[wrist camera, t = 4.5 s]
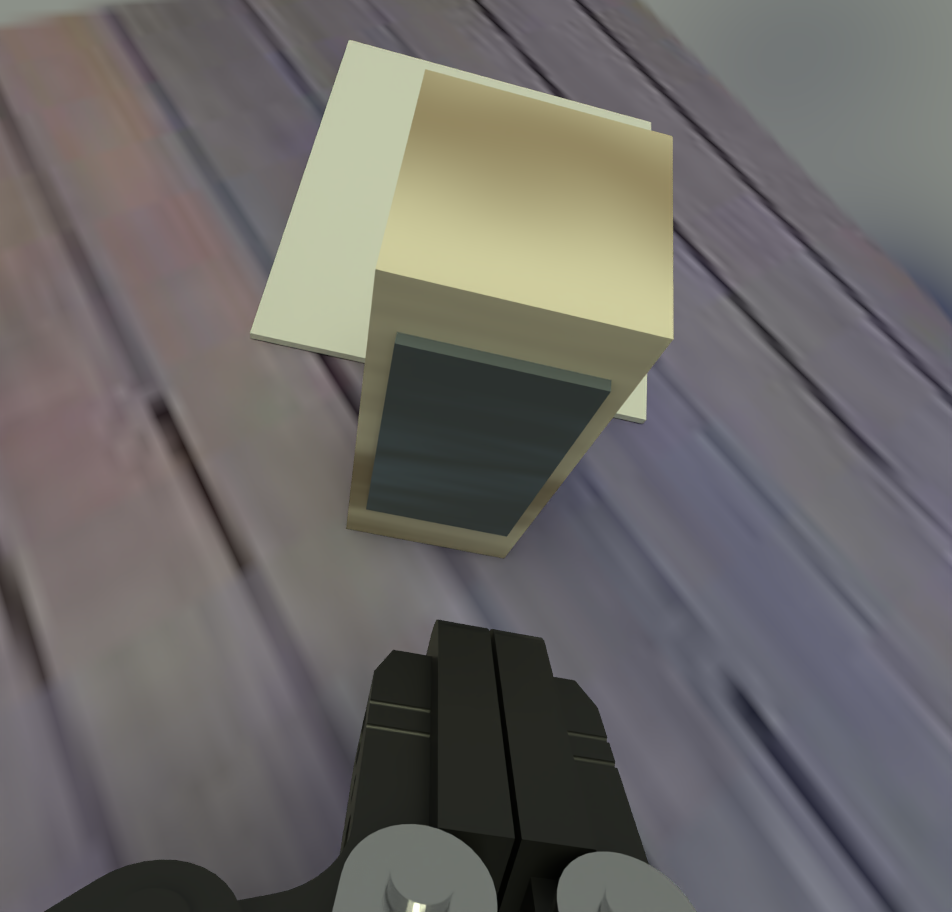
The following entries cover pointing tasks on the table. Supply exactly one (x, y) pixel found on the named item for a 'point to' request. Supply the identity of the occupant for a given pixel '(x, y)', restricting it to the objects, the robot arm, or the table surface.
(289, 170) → the table surface
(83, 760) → the table surface
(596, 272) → the birch block
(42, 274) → the table surface
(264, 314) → the cream mat
